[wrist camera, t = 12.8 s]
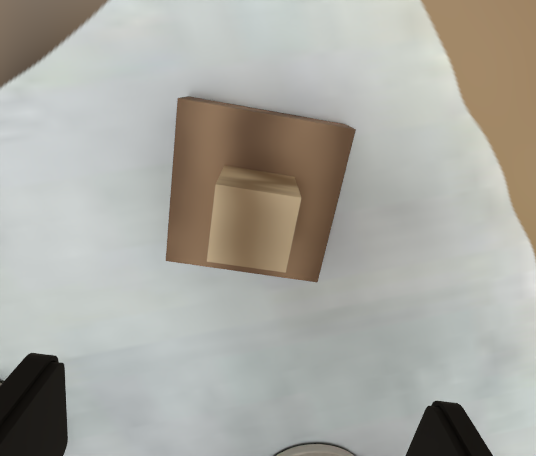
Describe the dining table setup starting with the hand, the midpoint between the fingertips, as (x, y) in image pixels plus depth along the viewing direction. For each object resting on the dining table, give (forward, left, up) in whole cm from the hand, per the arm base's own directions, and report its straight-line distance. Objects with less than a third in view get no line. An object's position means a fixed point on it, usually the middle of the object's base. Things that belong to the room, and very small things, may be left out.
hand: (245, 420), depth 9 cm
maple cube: (0, 0, -18) cm, 18 cm away
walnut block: (0, 0, -22) cm, 22 cm away
